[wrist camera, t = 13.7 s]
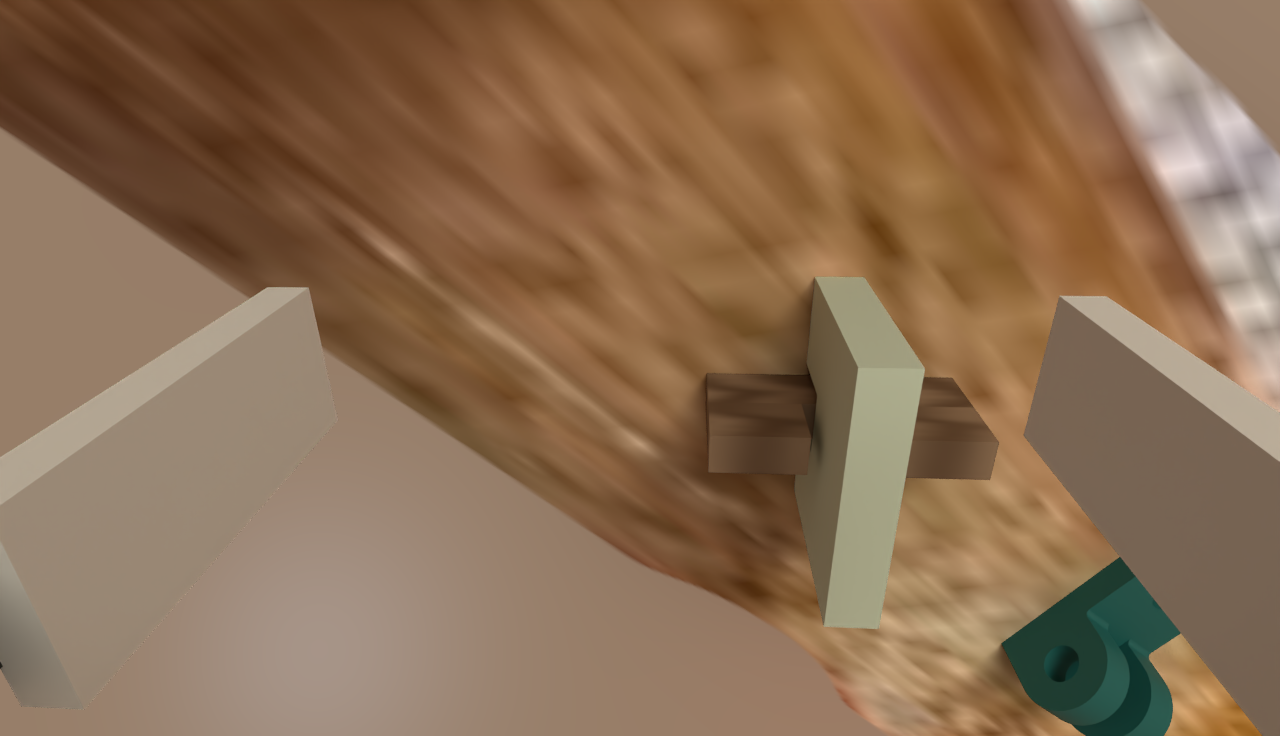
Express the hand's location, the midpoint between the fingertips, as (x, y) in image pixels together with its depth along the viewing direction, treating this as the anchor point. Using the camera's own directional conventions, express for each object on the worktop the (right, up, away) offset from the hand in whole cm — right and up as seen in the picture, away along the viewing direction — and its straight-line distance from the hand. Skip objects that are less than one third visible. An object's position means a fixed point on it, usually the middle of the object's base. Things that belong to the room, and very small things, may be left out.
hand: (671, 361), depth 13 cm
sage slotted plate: (+12, -2, +35) cm, 37 cm away
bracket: (+36, -17, +42) cm, 58 cm away
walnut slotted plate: (+12, -2, +35) cm, 37 cm away
